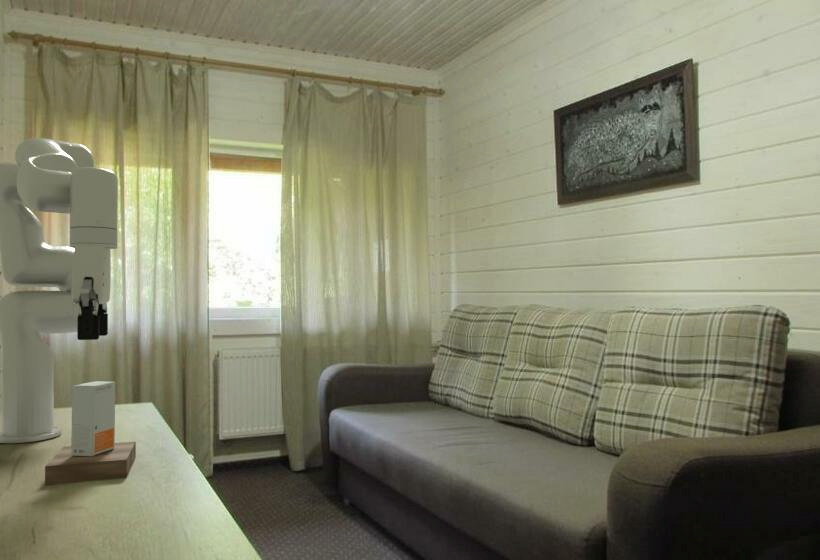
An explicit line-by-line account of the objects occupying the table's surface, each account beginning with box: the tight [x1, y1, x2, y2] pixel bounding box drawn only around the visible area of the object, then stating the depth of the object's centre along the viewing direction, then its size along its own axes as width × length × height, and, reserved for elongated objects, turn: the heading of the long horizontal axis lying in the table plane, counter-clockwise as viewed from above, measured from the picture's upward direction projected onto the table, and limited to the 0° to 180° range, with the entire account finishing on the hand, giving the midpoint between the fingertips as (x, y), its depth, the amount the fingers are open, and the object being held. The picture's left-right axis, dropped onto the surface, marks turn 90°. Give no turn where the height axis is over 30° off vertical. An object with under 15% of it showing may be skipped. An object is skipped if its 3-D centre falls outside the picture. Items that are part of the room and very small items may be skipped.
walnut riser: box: [44, 440, 137, 486], centre depth 110 cm, size 14×12×3 cm
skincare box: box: [70, 380, 116, 456], centre depth 110 cm, size 6×4×12 cm
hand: (93, 337), depth 111 cm, fingers open, 9 cm apart
